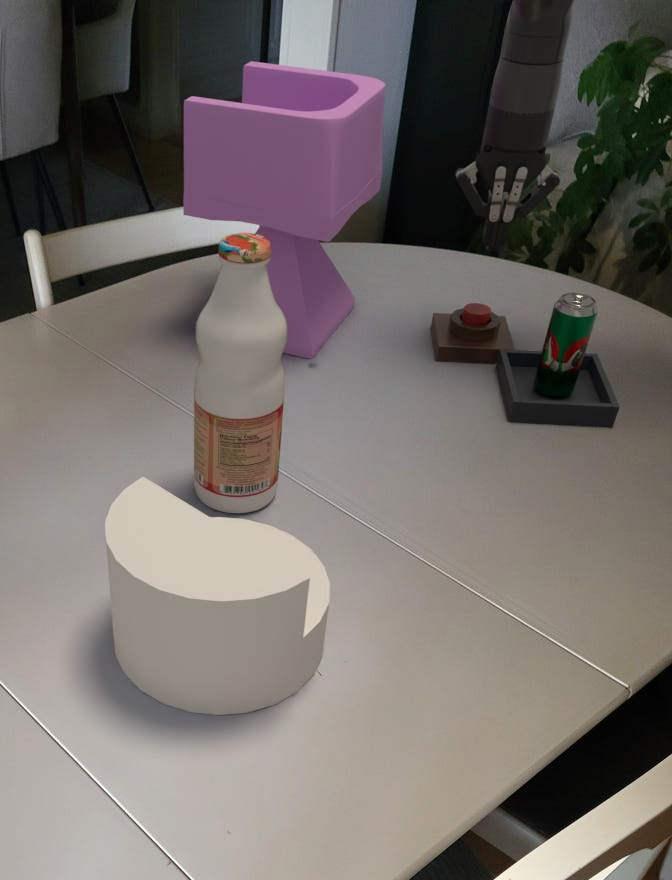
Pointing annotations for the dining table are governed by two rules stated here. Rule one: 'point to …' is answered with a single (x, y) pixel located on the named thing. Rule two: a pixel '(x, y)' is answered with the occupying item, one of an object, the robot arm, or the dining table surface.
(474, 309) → the button
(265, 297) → the fruit juice
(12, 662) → the dining table surface
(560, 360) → the soda can
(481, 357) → the block
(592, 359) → the tray
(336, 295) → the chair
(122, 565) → the notched white cylinder
